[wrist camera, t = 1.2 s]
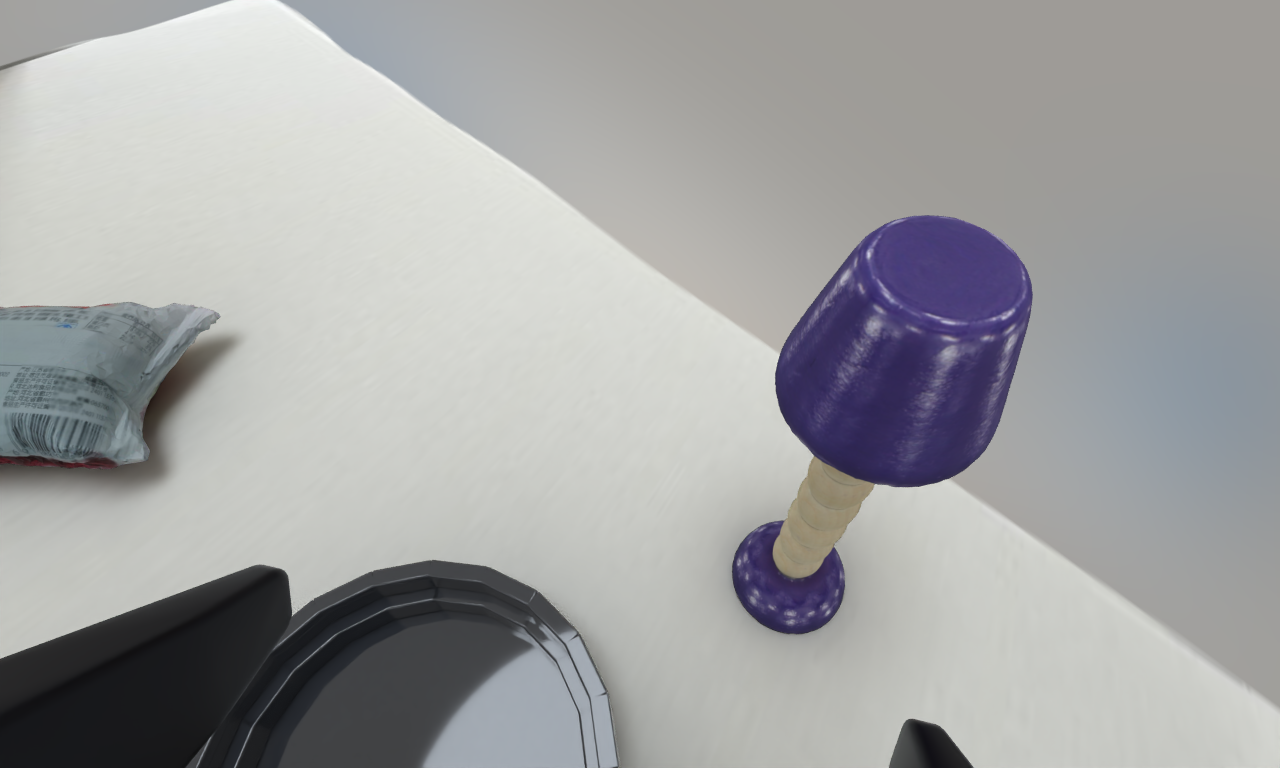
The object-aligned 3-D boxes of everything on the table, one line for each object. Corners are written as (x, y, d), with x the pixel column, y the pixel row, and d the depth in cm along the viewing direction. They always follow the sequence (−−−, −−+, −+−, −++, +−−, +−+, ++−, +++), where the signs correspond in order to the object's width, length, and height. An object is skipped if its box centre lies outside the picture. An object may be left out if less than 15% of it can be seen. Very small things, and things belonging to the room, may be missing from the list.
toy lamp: (856, 649, 23) (1151, 363, 9) (727, 651, 23) (837, 368, 9) (831, 524, 26) (1030, 168, 12) (716, 526, 26) (789, 172, 12)
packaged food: (10, 336, 32) (-81, 265, 28) (241, 337, 32) (182, 265, 28) (-110, 492, 27) (-242, 433, 23) (163, 494, 27) (78, 434, 23)
